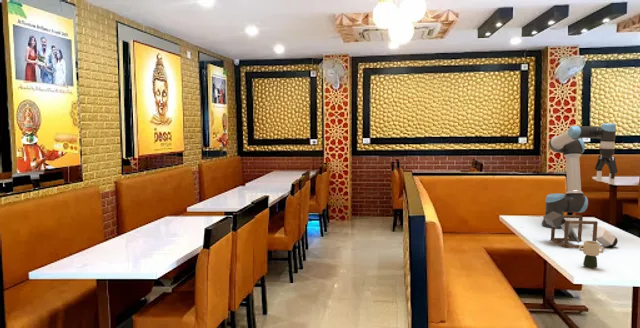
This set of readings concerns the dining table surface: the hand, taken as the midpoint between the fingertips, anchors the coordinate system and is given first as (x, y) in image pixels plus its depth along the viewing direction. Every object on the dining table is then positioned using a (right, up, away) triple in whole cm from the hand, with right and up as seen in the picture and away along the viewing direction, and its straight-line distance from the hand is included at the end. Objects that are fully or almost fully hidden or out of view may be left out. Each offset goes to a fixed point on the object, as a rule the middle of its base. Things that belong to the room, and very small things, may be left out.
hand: (604, 182), depth 291 cm
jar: (-13, -29, -14) cm, 35 cm away
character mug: (-39, -41, -52) cm, 77 cm away
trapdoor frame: (-24, -37, -7) cm, 45 cm away
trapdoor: (-35, -30, -7) cm, 46 cm away
